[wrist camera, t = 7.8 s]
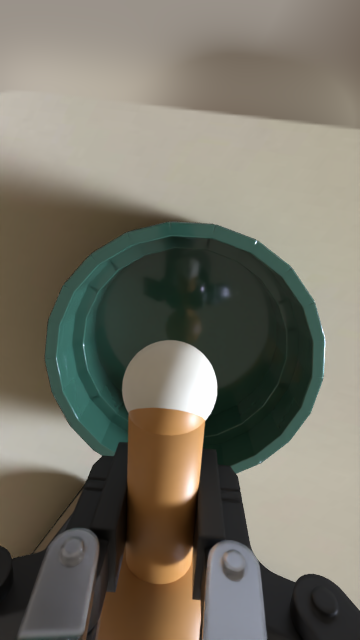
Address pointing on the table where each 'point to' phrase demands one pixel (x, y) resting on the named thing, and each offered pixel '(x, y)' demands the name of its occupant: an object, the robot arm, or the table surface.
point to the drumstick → (161, 494)
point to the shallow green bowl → (189, 335)
